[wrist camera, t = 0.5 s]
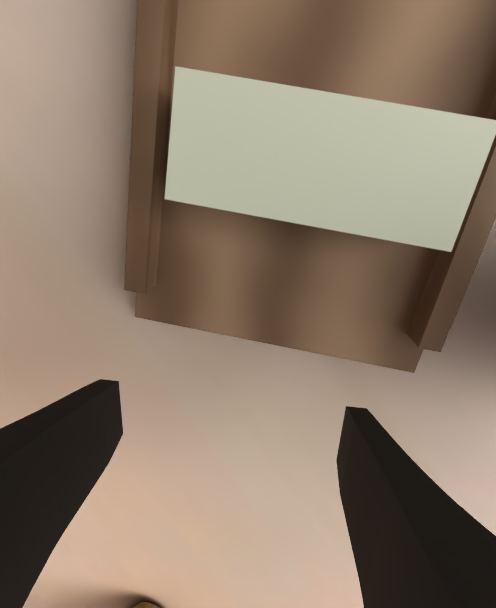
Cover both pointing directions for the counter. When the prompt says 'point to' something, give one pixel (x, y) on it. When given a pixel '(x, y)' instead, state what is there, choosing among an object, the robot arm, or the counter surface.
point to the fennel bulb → (145, 605)
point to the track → (291, 236)
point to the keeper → (324, 158)
